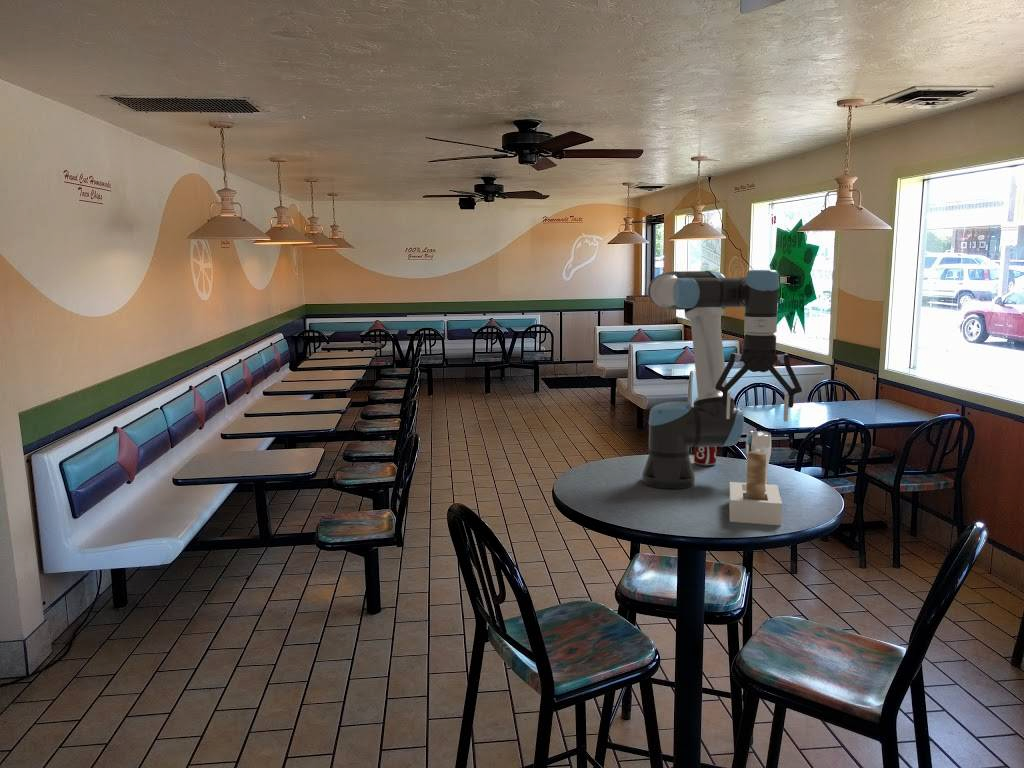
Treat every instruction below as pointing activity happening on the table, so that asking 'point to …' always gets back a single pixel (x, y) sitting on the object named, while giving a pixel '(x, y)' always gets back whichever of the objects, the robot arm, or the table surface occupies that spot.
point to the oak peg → (756, 475)
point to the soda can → (705, 455)
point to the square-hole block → (754, 505)
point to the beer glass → (759, 445)
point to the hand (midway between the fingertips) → (756, 419)
